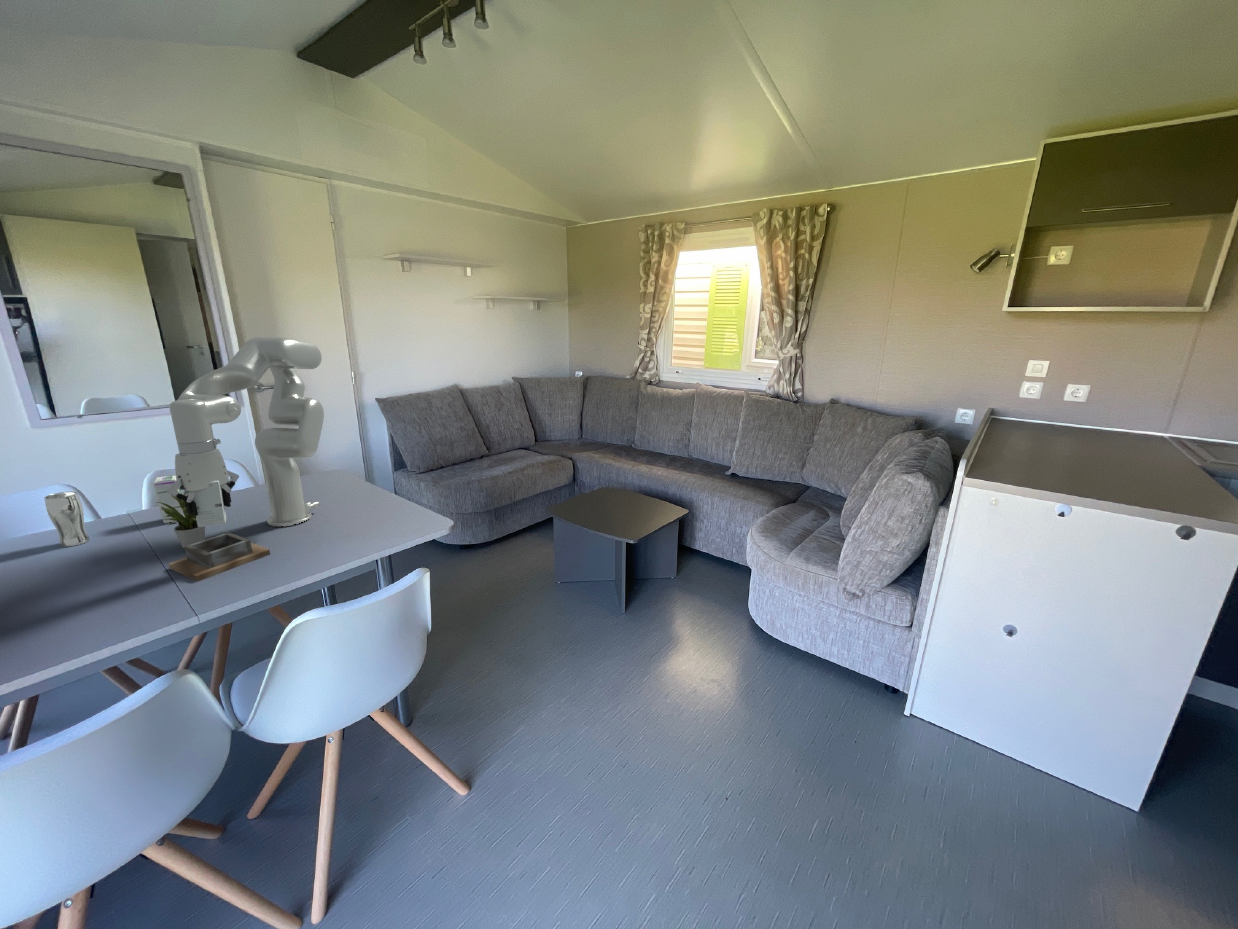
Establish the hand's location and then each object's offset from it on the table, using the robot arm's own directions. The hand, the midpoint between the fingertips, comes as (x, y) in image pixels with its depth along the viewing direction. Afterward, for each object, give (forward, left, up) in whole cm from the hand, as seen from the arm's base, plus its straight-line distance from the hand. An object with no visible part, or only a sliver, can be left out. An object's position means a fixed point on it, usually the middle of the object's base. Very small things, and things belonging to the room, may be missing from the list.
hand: (210, 509), depth 136 cm
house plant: (-3, -18, -16) cm, 24 cm away
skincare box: (0, 0, -4) cm, 4 cm away
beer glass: (+14, -49, -16) cm, 53 cm away
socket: (0, 0, -15) cm, 15 cm away
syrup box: (-9, -45, -16) cm, 49 cm away
